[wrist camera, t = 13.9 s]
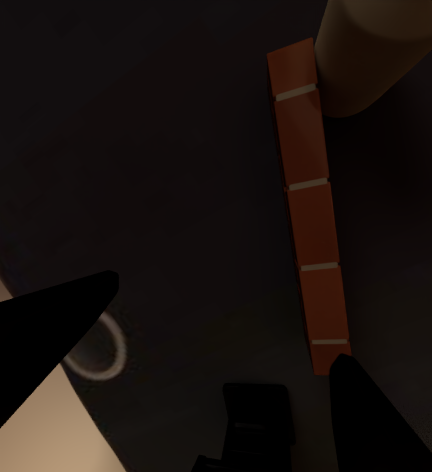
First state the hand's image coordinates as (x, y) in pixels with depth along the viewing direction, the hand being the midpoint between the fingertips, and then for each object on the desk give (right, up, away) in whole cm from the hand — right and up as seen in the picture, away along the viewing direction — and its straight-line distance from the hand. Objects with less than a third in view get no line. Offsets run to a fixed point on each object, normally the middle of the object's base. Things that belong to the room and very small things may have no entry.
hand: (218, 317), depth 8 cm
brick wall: (+7, +5, +10) cm, 13 cm away
